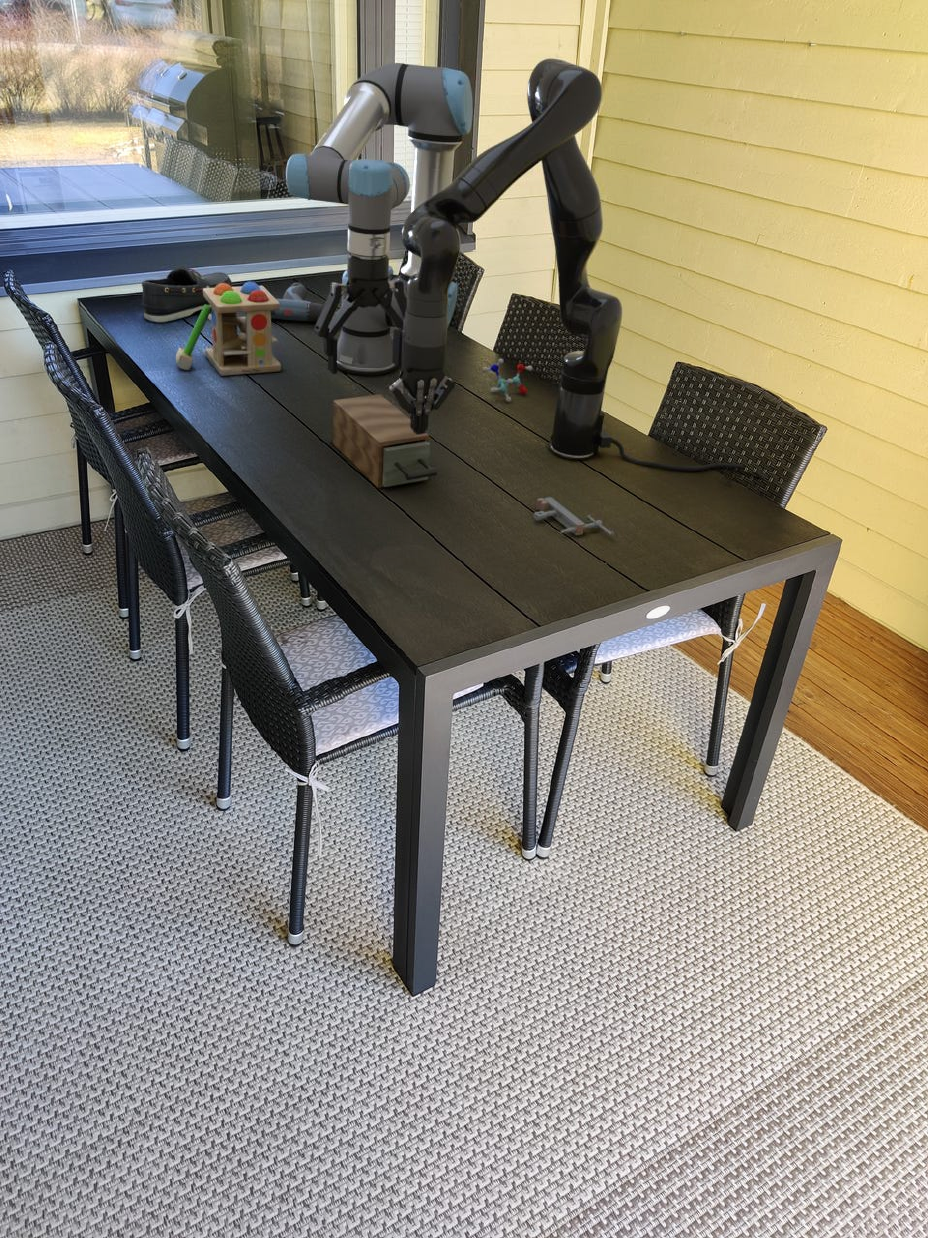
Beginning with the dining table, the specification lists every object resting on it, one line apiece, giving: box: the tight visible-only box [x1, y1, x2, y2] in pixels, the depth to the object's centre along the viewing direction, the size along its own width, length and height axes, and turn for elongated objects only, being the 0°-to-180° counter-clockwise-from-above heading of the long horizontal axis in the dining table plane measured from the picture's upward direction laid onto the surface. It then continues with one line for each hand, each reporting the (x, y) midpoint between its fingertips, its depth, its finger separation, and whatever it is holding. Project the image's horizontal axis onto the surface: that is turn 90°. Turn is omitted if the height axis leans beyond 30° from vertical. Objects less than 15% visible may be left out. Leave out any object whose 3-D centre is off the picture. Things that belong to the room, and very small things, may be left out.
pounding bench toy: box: [174, 281, 282, 377], centre depth 225 cm, size 23×14×18 cm, turn 116°
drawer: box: [382, 440, 438, 488], centre depth 188 cm, size 26×9×7 cm, turn 30°
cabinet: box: [332, 393, 430, 489], centre depth 192 cm, size 21×10×9 cm, turn 30°
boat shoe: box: [141, 266, 234, 323], centre depth 261 cm, size 13×33×10 cm, turn 147°
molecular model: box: [482, 358, 533, 403], centre depth 227 cm, size 12×10×10 cm
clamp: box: [533, 496, 615, 537], centre depth 178 cm, size 15×2×10 cm
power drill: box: [271, 282, 338, 322], centre depth 265 cm, size 5×19×20 cm
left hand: (365, 367), depth 189 cm, fingers open, 13 cm apart
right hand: (418, 432), depth 177 cm, fingers closed
